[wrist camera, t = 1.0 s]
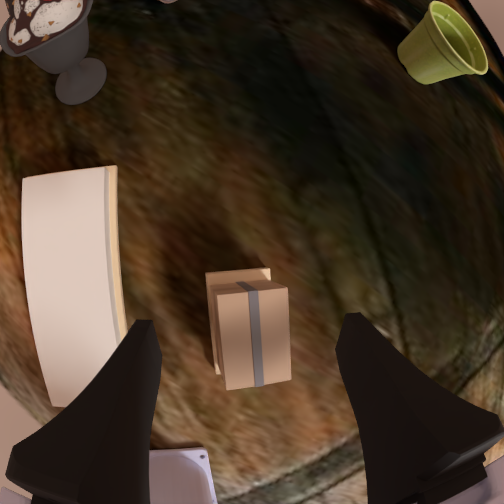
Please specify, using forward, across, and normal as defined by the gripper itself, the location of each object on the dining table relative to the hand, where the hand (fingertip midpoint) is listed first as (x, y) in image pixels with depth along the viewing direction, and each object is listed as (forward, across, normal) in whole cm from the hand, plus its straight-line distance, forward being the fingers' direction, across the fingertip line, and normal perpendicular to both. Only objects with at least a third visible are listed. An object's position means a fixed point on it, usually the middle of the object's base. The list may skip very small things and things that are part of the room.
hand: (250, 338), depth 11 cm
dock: (+9, +13, +5) cm, 17 cm away
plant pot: (+27, -22, -14) cm, 37 cm away
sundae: (+18, +14, -10) cm, 25 cm away
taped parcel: (+10, 0, +9) cm, 13 cm away
